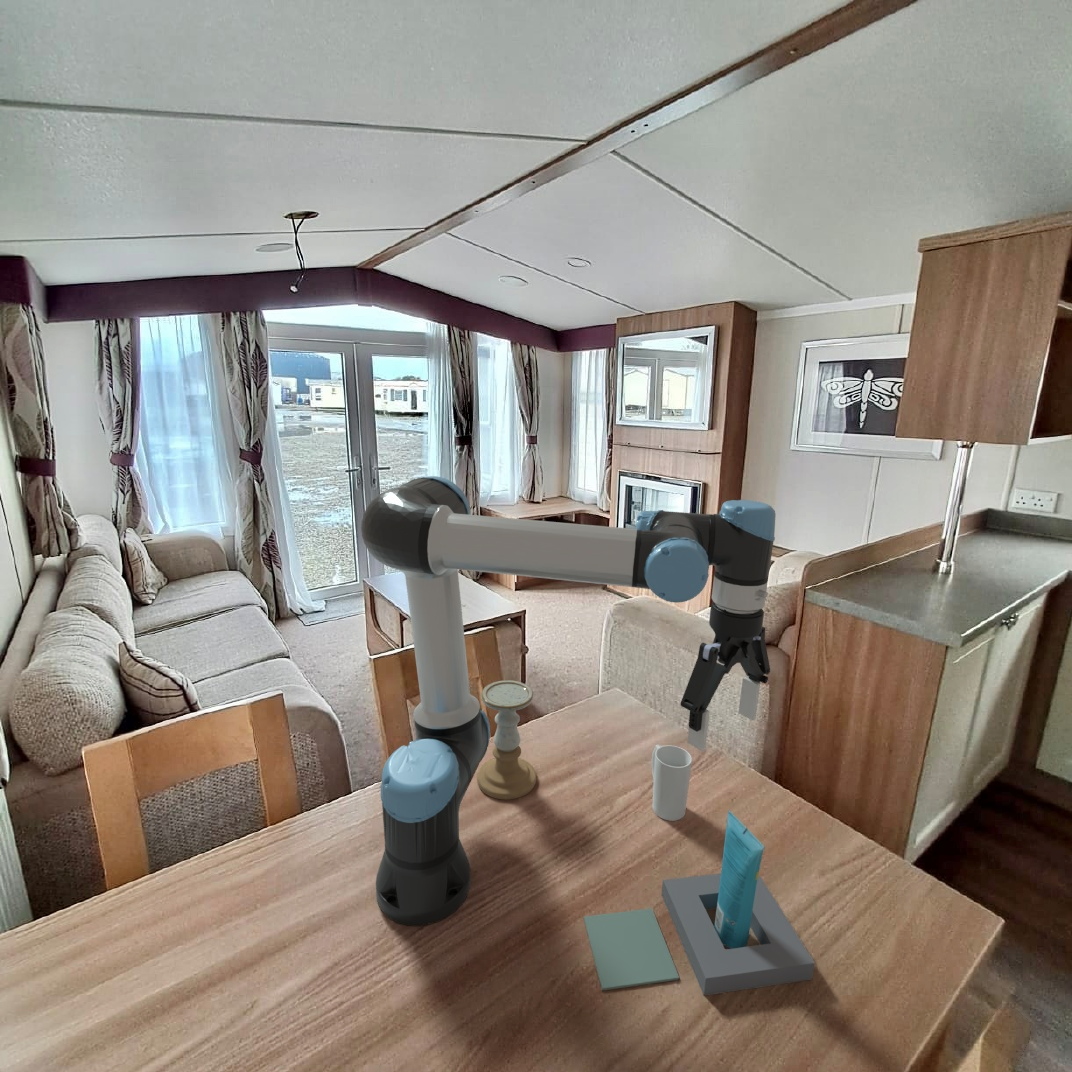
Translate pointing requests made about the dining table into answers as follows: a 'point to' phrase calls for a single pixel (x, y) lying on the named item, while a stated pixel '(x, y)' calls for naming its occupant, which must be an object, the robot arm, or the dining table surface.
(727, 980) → the socket board
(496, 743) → the candle holder
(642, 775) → the dining table surface
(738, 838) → the tube
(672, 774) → the mug
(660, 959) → the coaster
